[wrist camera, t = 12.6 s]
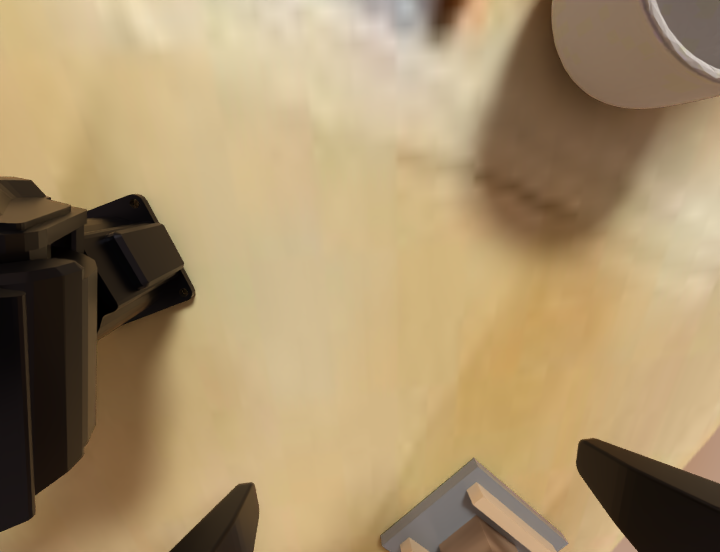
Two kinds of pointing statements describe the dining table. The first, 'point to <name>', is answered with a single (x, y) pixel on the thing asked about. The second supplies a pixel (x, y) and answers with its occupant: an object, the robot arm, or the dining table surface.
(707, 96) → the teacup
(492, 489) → the grey stand base
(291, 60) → the dining table surface
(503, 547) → the wooden block
